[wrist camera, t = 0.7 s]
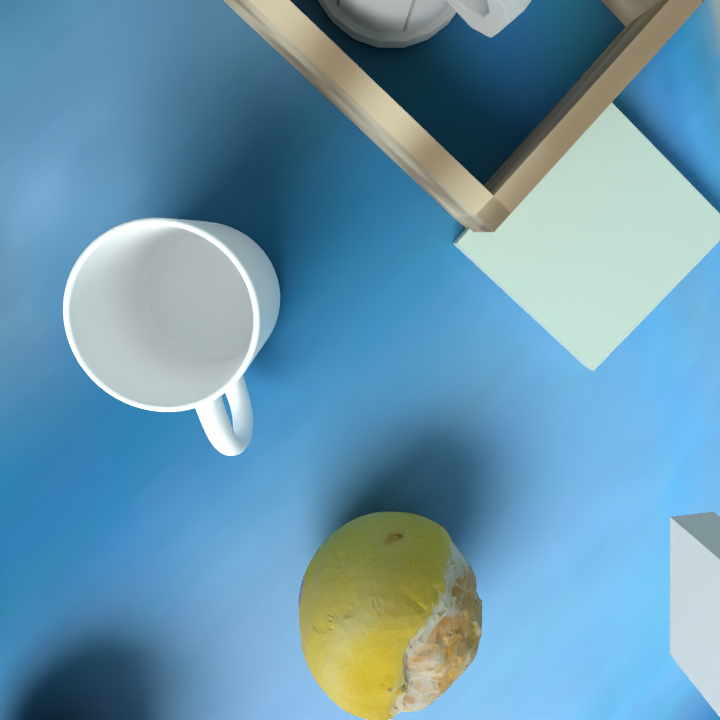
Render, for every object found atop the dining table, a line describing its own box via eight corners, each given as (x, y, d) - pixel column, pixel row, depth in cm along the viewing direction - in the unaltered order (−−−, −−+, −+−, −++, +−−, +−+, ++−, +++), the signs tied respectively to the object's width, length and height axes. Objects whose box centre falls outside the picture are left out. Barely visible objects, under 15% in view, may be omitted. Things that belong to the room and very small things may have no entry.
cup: (253, 202, 36) (219, 190, 26) (322, 397, 38) (314, 455, 28) (115, 248, 36) (30, 254, 26) (192, 440, 39) (139, 511, 29)
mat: (452, 243, 37) (456, 243, 35) (588, 92, 35) (597, 87, 34) (585, 366, 38) (593, 371, 37) (720, 227, 37) (732, 227, 36)
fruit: (310, 645, 41) (300, 772, 32) (297, 489, 39) (283, 574, 30) (466, 634, 42) (504, 758, 32) (461, 479, 39) (501, 560, 30)
